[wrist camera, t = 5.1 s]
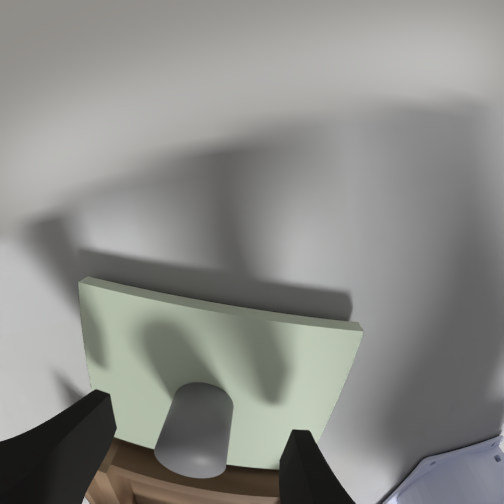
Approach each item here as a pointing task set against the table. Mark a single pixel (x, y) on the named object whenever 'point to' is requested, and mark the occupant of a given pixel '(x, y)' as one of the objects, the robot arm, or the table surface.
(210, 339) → the cover plate
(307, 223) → the table surface
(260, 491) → the walnut box
